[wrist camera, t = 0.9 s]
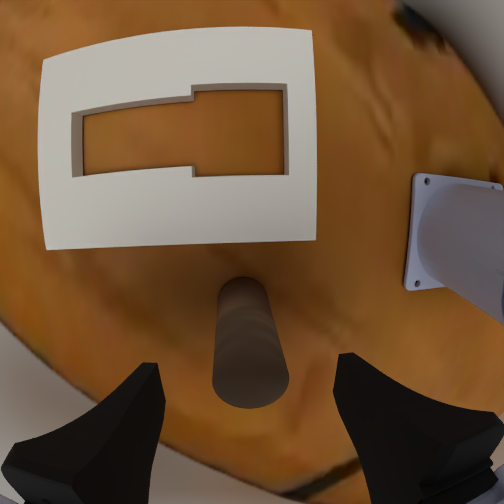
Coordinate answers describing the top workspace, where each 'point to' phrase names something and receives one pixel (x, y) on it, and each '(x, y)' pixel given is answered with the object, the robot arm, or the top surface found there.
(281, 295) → the top surface
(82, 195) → the keyhole plate
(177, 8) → the top surface
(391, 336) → the top surface
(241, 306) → the peg
